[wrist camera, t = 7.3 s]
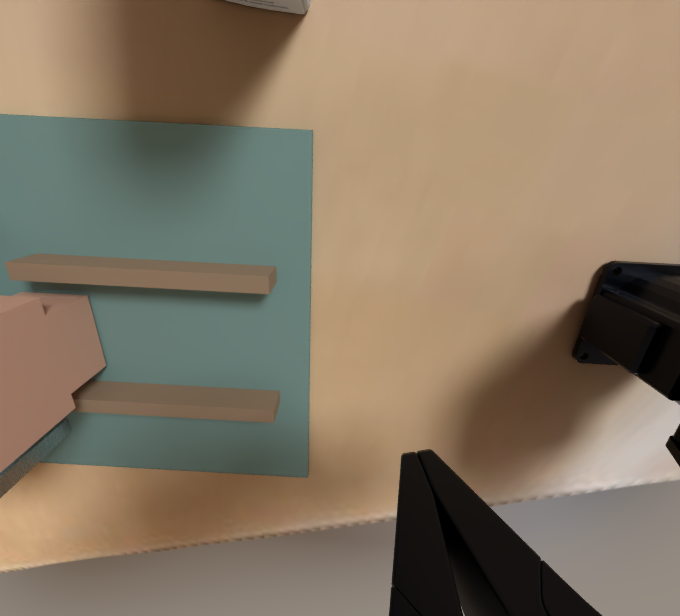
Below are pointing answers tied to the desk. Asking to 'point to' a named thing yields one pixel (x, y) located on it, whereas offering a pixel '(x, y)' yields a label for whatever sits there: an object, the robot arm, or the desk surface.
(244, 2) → the ink box
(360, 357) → the desk surface
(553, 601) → the robot arm
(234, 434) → the plate
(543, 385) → the desk surface
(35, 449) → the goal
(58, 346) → the salmon orange block
